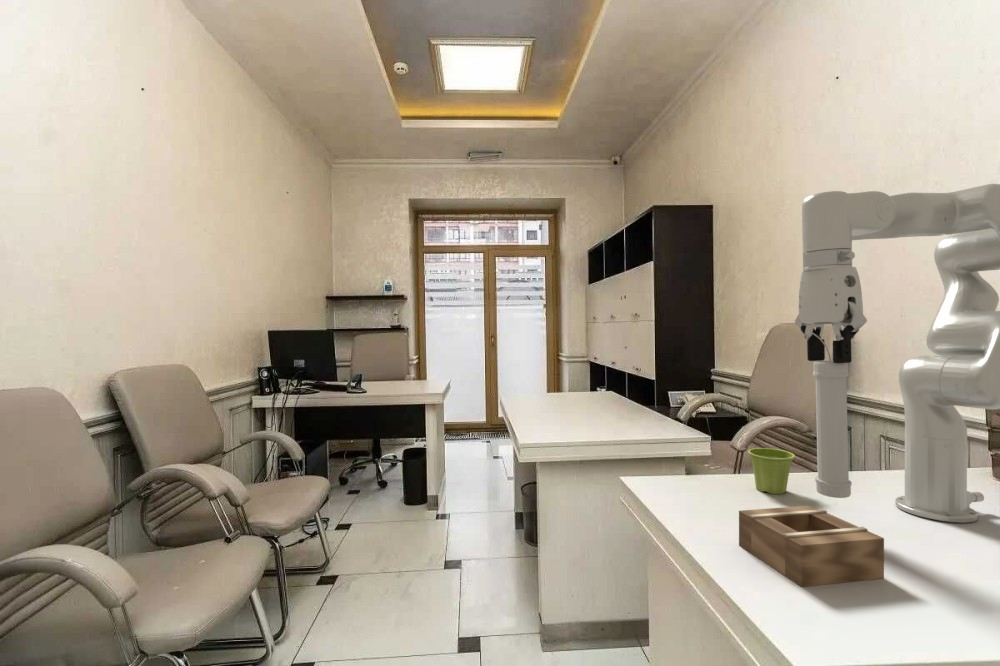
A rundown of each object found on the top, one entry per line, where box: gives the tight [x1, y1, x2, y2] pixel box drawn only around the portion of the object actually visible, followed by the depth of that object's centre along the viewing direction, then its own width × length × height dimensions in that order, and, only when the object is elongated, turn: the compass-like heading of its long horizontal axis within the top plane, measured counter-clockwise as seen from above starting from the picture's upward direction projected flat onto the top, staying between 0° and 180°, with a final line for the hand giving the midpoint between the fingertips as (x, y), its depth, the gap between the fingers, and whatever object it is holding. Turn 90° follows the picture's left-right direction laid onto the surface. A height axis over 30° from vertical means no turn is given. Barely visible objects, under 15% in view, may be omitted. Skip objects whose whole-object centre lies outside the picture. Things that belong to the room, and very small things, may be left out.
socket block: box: [738, 505, 885, 588], centre depth 80 cm, size 14×14×6 cm
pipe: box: [809, 331, 852, 499], centre depth 91 cm, size 6×6×30 cm
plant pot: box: [747, 447, 795, 495], centre depth 115 cm, size 9×9×9 cm
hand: (828, 360), depth 91 cm, fingers closed on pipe, 5 cm apart
